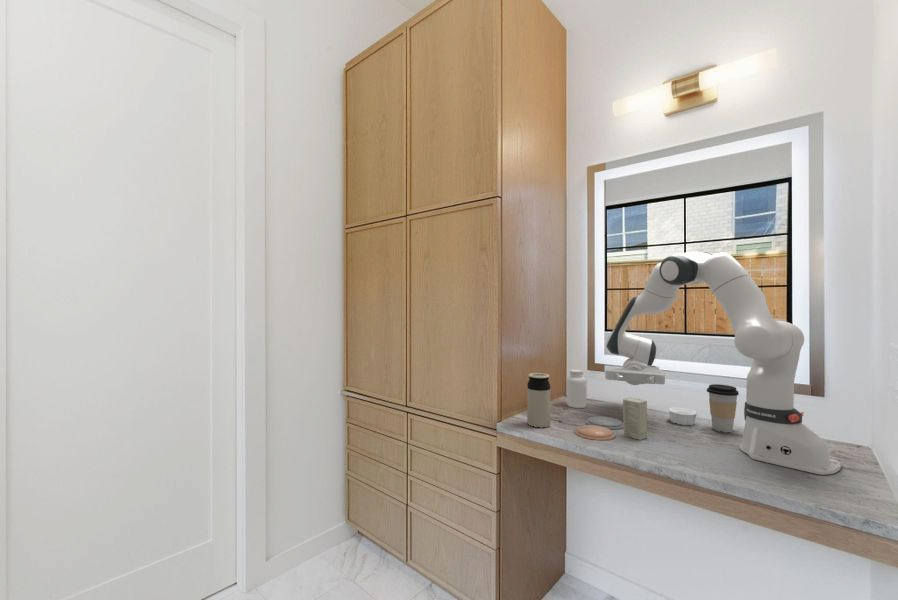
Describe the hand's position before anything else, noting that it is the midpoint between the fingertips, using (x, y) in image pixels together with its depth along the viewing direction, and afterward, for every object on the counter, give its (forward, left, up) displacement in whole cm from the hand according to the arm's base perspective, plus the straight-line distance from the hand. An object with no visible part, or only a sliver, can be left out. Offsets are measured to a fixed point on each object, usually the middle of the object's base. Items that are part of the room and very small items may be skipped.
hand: (634, 379), depth 148 cm
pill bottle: (+29, -4, -17) cm, 34 cm away
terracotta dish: (+2, +19, -16) cm, 25 cm away
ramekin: (-7, -19, -17) cm, 26 cm away
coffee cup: (-19, -22, -17) cm, 33 cm away
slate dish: (+7, +7, -16) cm, 19 cm away
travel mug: (+19, +28, -17) cm, 38 cm away
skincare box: (-7, +10, -17) cm, 21 cm away
